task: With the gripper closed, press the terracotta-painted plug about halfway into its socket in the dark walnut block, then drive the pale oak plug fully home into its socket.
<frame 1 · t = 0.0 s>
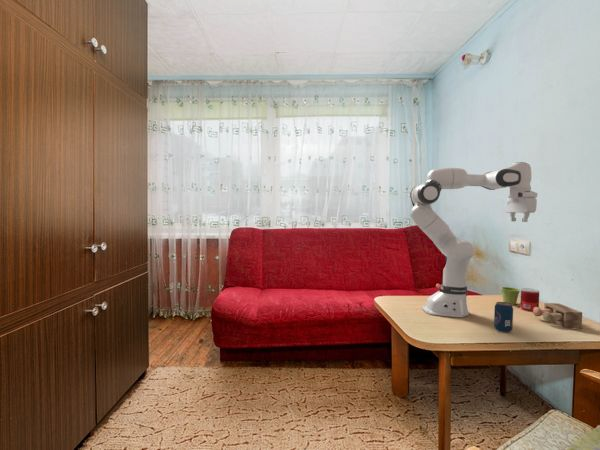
hand: (518, 221, 158), 48 cm above the table, fingers open, 8 cm apart
canned food: (529, 310, 168), on the table
terracotta plug: (545, 312, 152), point 4 cm above the table, slide at 0.0 cm
socket block: (561, 323, 148), on the table
plant pot: (509, 304, 179), on the table
soda can: (502, 330, 138), on the table
oak plug: (555, 316, 145), point 4 cm above the table, slide at 0.0 cm
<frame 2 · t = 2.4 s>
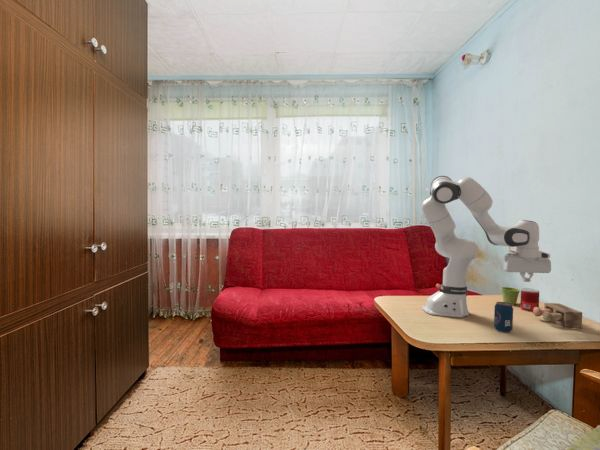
hand: (526, 281, 152), 19 cm above the table, fingers closed
nothing on the table moved.
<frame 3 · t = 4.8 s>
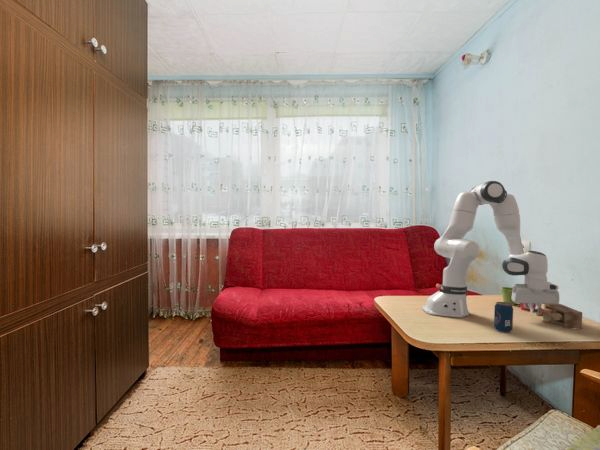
hand: (534, 312, 152), 4 cm above the table, fingers closed
terracotta plug: (547, 312, 151), point 4 cm above the table, slide at 1.0 cm, touching gripper
everything else where it was.
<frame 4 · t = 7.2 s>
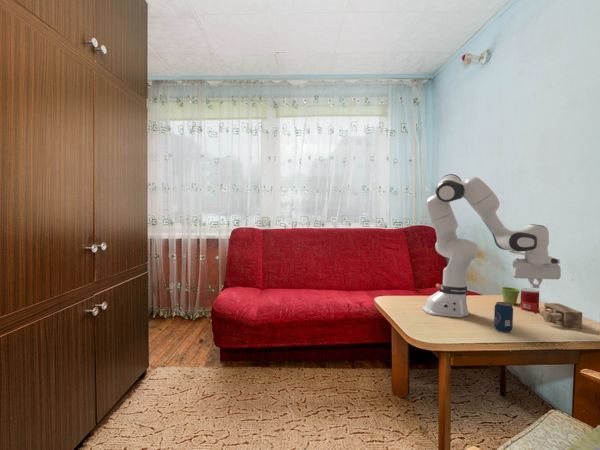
hand: (534, 288, 146), 17 cm above the table, fingers closed
terracotta plug: (551, 312, 151), point 4 cm above the table, slide at 3.0 cm
everything else where it was.
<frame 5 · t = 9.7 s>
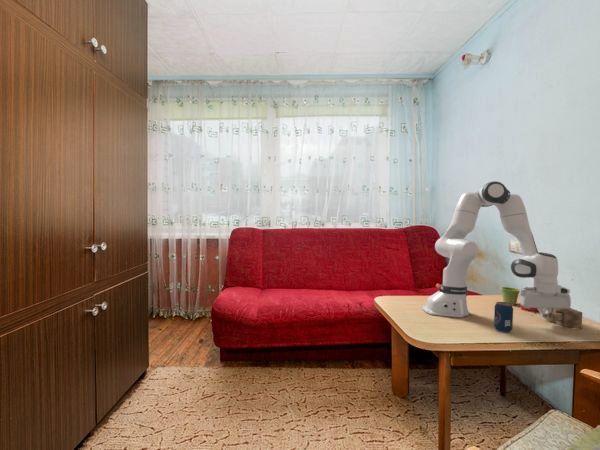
hand: (544, 317, 145), 4 cm above the table, fingers closed
oak plug: (558, 316, 145), point 4 cm above the table, slide at 1.0 cm, touching gripper
everything else where it was.
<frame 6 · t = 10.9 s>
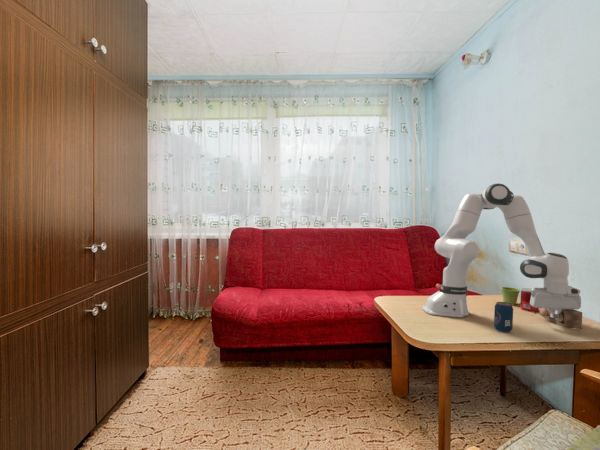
hand: (554, 317, 145), 4 cm above the table, fingers closed
oak plug: (568, 317, 144), point 4 cm above the table, slide at 5.3 cm, touching gripper
everything else where it was.
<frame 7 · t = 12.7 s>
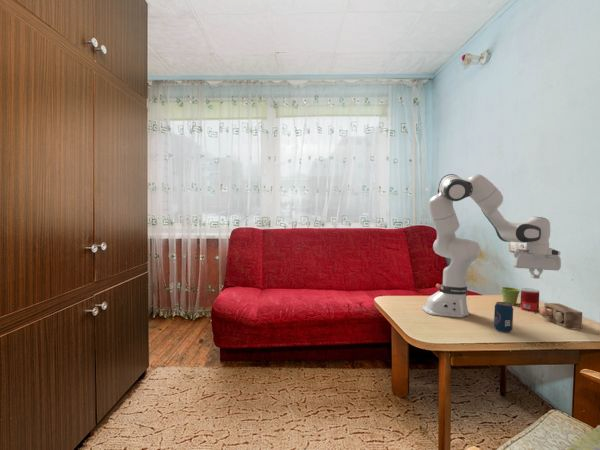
hand: (535, 278, 152), 20 cm above the table, fingers closed
oak plug: (568, 317, 144), point 4 cm above the table, slide at 5.3 cm
everything else where it was.
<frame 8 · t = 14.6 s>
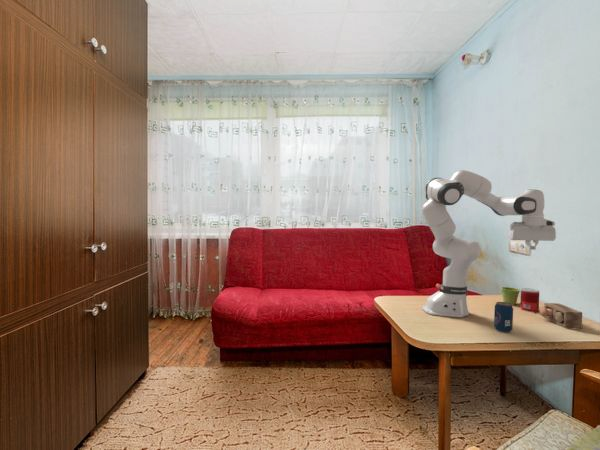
hand: (531, 249, 156), 34 cm above the table, fingers closed
nothing on the table moved.
at the end: oak plug slide at 5.3 cm; terracotta plug slide at 3.0 cm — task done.
